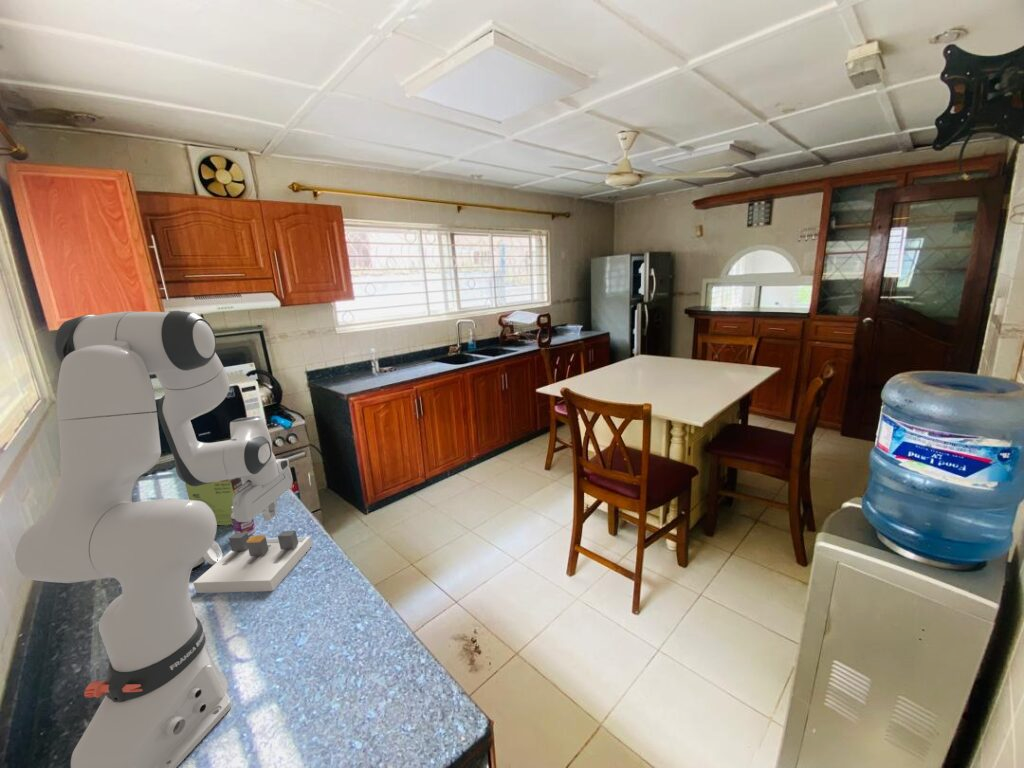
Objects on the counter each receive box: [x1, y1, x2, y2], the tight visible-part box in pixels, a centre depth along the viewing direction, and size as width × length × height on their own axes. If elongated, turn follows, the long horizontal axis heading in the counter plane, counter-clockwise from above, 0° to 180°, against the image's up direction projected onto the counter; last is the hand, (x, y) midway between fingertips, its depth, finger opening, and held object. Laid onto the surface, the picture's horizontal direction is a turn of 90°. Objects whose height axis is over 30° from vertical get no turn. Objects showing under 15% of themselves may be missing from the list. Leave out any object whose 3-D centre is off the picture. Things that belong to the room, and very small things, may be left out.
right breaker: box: [277, 530, 298, 549], centre depth 111 cm, size 2×4×4 cm, turn 86°
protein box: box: [184, 477, 243, 526], centre depth 136 cm, size 10×15×16 cm
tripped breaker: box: [246, 534, 269, 556], centre depth 109 cm, size 2×4×4 cm, turn 87°
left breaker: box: [228, 532, 250, 551], centre depth 112 cm, size 2×4×4 cm, turn 86°
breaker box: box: [192, 536, 313, 594], centre depth 109 cm, size 18×20×3 cm
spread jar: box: [191, 540, 223, 573], centre depth 111 cm, size 12×11×12 cm
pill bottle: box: [231, 506, 256, 536], centre depth 126 cm, size 5×5×10 cm
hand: (270, 517), depth 115 cm, fingers closed
